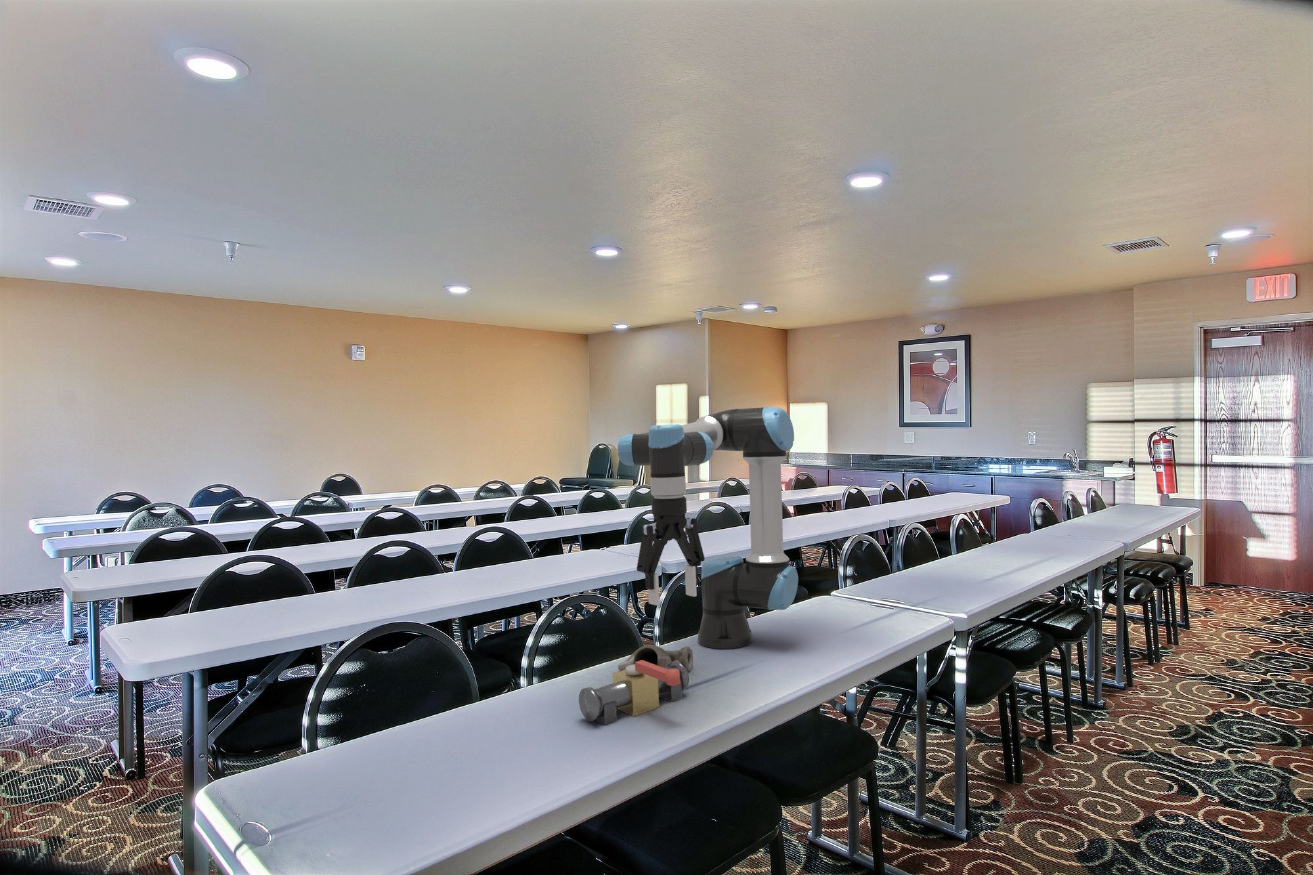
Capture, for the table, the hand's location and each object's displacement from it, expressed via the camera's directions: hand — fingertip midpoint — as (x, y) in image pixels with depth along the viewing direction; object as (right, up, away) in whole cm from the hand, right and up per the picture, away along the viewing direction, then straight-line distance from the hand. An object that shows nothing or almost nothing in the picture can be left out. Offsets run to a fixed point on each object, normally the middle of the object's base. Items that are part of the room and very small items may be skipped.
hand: (673, 599), depth 161 cm
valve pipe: (-8, -24, +2) cm, 25 cm away
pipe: (-3, -24, +22) cm, 33 cm away
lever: (-4, -16, -3) cm, 17 cm away
